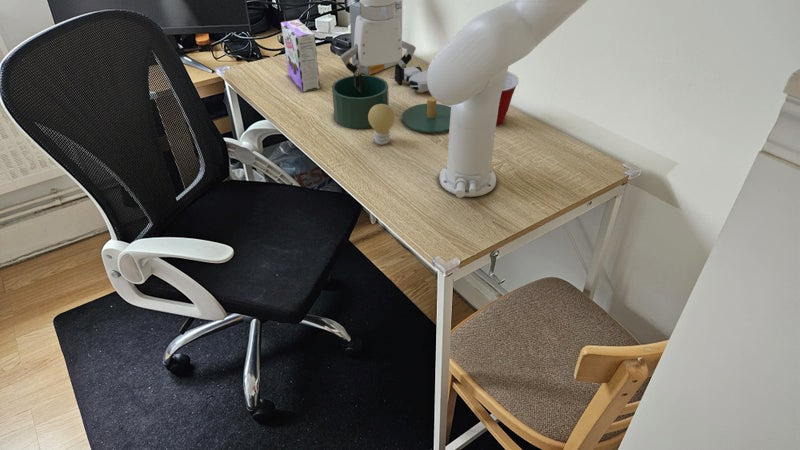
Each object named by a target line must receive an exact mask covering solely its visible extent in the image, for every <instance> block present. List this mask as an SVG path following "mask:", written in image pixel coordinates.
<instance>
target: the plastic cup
mask: <svg viewBox="0 0 800 450" xmlns="http://www.w3.org/2000/svg"><path fill="white" fill-rule="evenodd" d="M519 83H520V80H519V77H518V75H517V74H515V73H513V72H511V71H508V72H507V76H506V80H505V83H504V86H503V90H502V93H501V97H500V102H499V108H498V115H497V122H496V127H497V126H498V127H499V126H501V125H503V124H504V122H505V119H506V116H507V114H508V111H509V108H510V105H511V102H512V98H513V96H514V93H515V90H516V88H517V86H518V85H519Z"/></svg>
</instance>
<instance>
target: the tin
mask: <svg viewBox="0 0 800 450" xmlns="http://www.w3.org/2000/svg"><path fill="white" fill-rule="evenodd" d="M361 75H362V78H363V91H362V92H359V90H358V89H357V88H355V86H354V75H349V76H345V77H341V78H339V79H337V80H336V81H335V82H333V84H332V85H331V94H332V104H333V105H332V106H333V114H334V120H335V121H336V123H337V124H339V125H340V126H342V127H345V128H348V129H354V130H365V129H366V130H367V129H373V127H372V126H371V125H370V123H369V120H368V114H369V111H370V109H371V108H372V107H373V106H375V105H377V104H386V105H388V106H390V101H389V100H390V99H389V84H388V82H387V81H386V80H385V79H384V78H382V77H378V76H375V75H372V74H371V75H366V74H361Z"/></svg>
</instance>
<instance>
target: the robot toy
mask: <svg viewBox="0 0 800 450" xmlns="http://www.w3.org/2000/svg"><path fill="white" fill-rule="evenodd" d="M427 71H428V70H424V71H423V70H422V67H420V66H410V67H406V68H405V69H404V80H403V82H404V84H408V87H409V88H410V89H412V90H414V91H416V92H418V93H419V94H421V93H422V94H423V93H425V92H429V89H428V86H427ZM389 79H391V80H395V74H392V75H390V76H389Z"/></svg>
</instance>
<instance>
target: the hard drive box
mask: <svg viewBox="0 0 800 450" xmlns="http://www.w3.org/2000/svg"><path fill="white" fill-rule="evenodd" d="M396 2H401V4H402V5H403V0H396ZM396 14H397V15H398V18H399V23H400V30H401V38H402V39H403V7H402V8H401V9H398V10H397V11H396ZM357 16H360V1H357V2H355V3H351V4H349V22H350V24H349V25H350V40H351V41H350V43H351V44H350V45H351V48H352V47H354V34H355V23H356V17H357ZM356 60H357V59H355V56H353V57H351V62H352V63H351V64H353V65H354V63H355V62H356ZM396 64H397V62H394V63H388V64H381V65H374V66H365V68H364V69H363V70H362V72H361V74H362V75H371V76H372V75H373V74H378V73H379V72H381V71H384V70H387V69H389V68H391V67H395V66H396Z"/></svg>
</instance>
